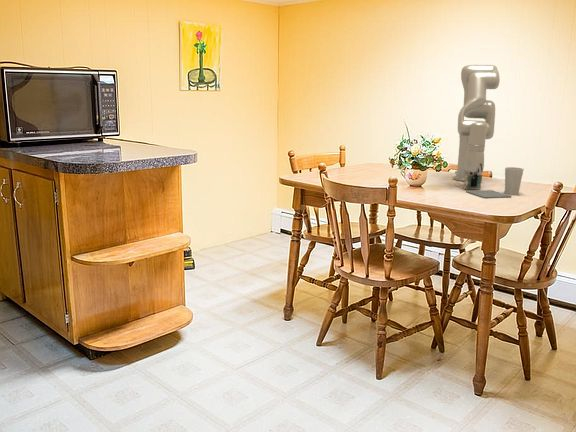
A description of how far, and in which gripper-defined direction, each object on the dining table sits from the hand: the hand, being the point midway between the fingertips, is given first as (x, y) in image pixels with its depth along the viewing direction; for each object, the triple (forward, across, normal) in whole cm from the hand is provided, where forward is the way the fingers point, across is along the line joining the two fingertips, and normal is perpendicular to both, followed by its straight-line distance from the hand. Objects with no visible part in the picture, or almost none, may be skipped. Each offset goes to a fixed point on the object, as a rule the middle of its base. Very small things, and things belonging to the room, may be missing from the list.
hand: (472, 185), depth 260 cm
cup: (+2, +13, +13) cm, 18 cm away
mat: (+1, +14, 0) cm, 14 cm away
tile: (+2, 0, 0) cm, 2 cm away
